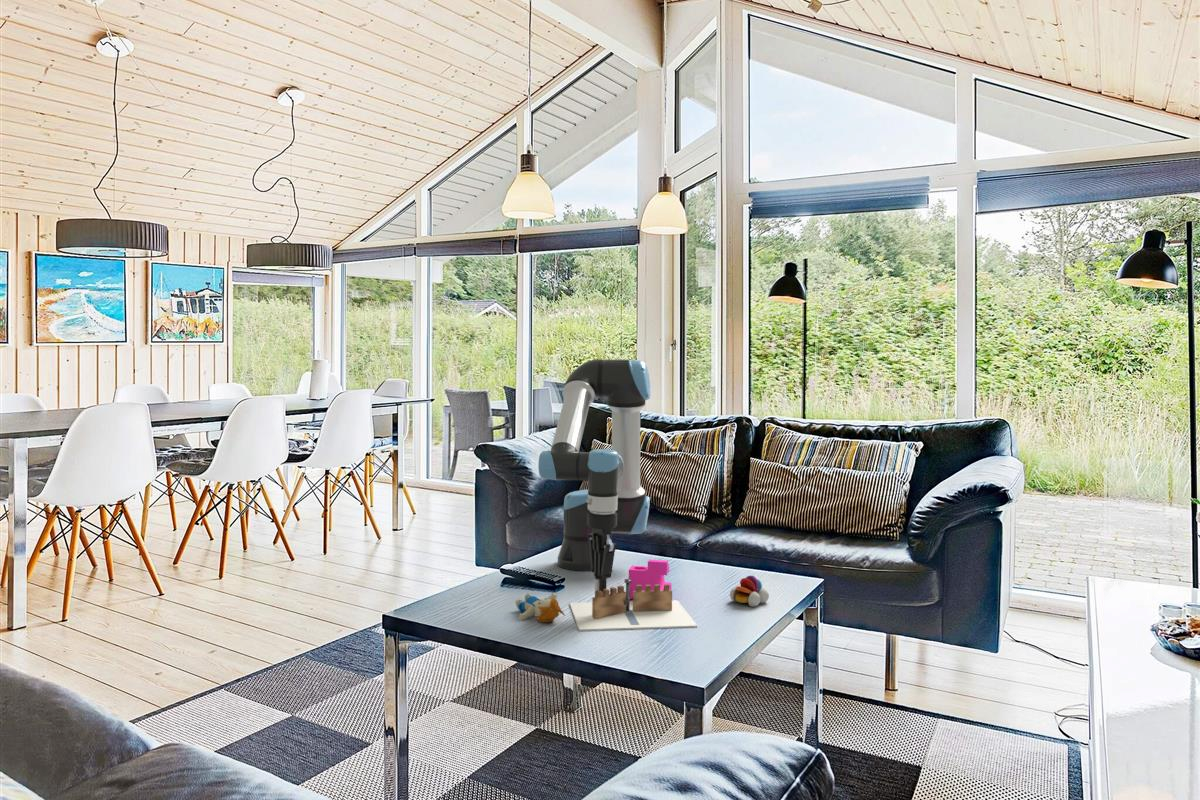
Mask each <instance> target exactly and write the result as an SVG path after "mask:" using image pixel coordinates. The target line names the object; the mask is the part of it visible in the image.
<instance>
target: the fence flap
mask: <svg viewBox="0 0 1200 800" xmlns="http://www.w3.org/2000/svg"><path fill="white" fill-rule="evenodd" d="M591 603H592V618H595V619H596V618H601V617H605V616H609V615H613V614H618V613H622V612H626V605H627V604H628V600H627V599H626V591H625V586H624V585H617V586H616V587H614V586H612V587H609V589H608V588H607V589H603V596H602V591H600V590H597V591H595V590H594V597H592V601H591Z"/></svg>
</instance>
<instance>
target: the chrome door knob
mask: <svg viewBox="0 0 1200 800" xmlns="http://www.w3.org/2000/svg"><path fill="white" fill-rule="evenodd" d="M631 582H632V580H631V579H629V578H625V579H624V583H625V592H626V599H627V600H628V604H627V605H626V611H629V610H630V602H631V601H630V600H631V598H630V583H631Z"/></svg>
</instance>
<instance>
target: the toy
mask: <svg viewBox="0 0 1200 800" xmlns="http://www.w3.org/2000/svg"><path fill="white" fill-rule="evenodd" d="M515 606H516V607H517V609H518V611H520V612H521V613H519V617H518V621H520V620H521V621H525V620H526V619H528V618H530V617H533V616H535V617H536V619H538V621H539V622H540V623H550V622H552V621H555V619H557V618H559V616H560V614H559V613H561V615H563V616H566V614H565V613H564V612H563V610H562V608H561V607H560V605H559V601H558V600H557V594H556V593H554V592H552V593H551V594H550V595H548V596H547V597H544V598H542V599H541V598H539V597H537V596H535V595H531V593H529V592H527V593H526V594H525V595H524V601H523V600H522V599H521V598H519V599H516V600H515Z"/></svg>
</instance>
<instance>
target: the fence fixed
mask: <svg viewBox="0 0 1200 800" xmlns="http://www.w3.org/2000/svg"><path fill="white" fill-rule="evenodd" d="M672 600H673V590H672V589H671V590H669V584H664V590H660V585H659V584H655V590H652V591H651V585H650V584H648V585H645V591H642V586H641V585H636V591H633V598H632V601H633V611H658V610H672Z"/></svg>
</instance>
